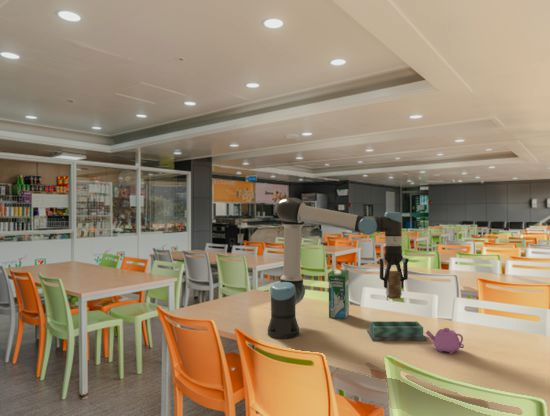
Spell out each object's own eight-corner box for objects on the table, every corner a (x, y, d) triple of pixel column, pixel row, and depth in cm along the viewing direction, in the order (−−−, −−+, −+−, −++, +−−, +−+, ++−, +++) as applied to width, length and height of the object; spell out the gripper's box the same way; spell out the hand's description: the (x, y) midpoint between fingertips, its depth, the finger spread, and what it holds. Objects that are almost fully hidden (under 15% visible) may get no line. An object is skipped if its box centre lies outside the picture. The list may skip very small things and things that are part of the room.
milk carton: (328, 317, 221) (328, 271, 221) (332, 313, 229) (332, 268, 229) (345, 319, 217) (345, 272, 217) (348, 314, 226) (348, 269, 226)
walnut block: (389, 298, 188) (389, 272, 188) (386, 296, 193) (386, 271, 193) (400, 298, 188) (400, 272, 188) (397, 296, 193) (397, 270, 193)
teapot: (462, 357, 162) (461, 334, 162) (422, 350, 171) (422, 328, 170) (465, 349, 171) (465, 327, 171) (428, 343, 179) (428, 322, 179)
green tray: (372, 340, 183) (372, 328, 183) (367, 332, 195) (367, 320, 195) (426, 340, 182) (426, 328, 182) (418, 332, 194) (418, 320, 194)
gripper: (375, 246, 187) (376, 296, 187) (415, 245, 187) (415, 296, 187) (372, 244, 194) (372, 293, 195) (410, 244, 194) (410, 292, 194)
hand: (393, 294), depth 191 cm, fingers closed on walnut block, 5 cm apart
